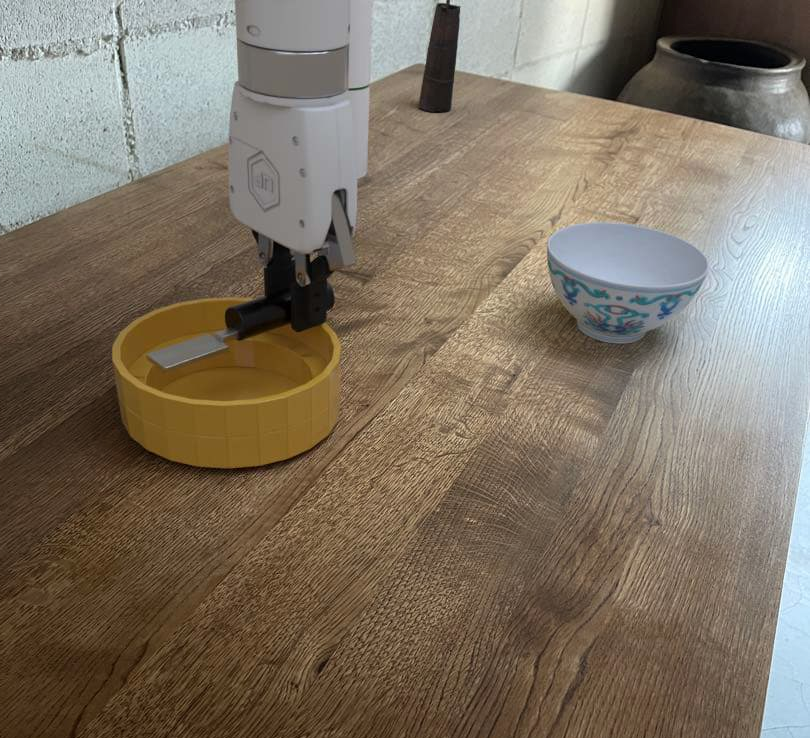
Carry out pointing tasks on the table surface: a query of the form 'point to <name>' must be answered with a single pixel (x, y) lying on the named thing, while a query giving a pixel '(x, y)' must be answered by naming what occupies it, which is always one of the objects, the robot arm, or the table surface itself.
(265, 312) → the putty knife
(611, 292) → the chinaware
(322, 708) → the table surface
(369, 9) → the cylindrical container
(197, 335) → the bowl
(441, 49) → the butter churn
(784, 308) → the table surface
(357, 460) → the table surface
